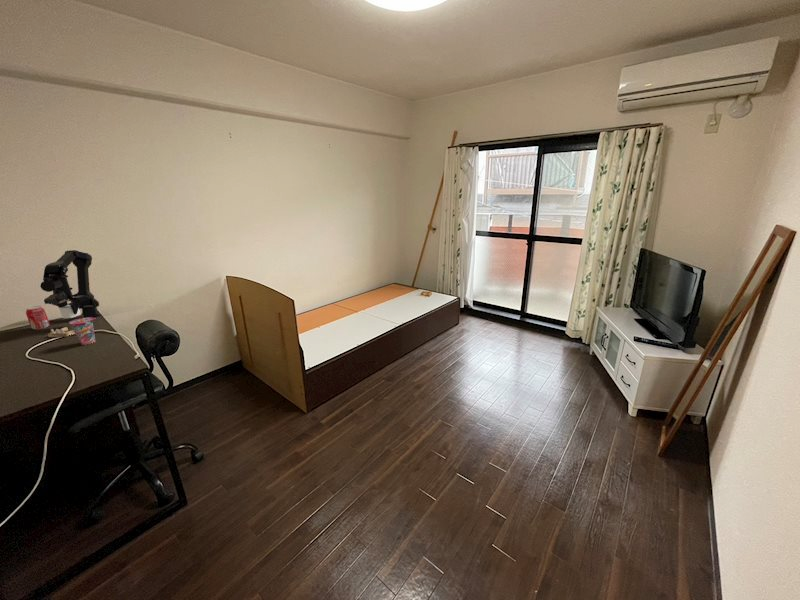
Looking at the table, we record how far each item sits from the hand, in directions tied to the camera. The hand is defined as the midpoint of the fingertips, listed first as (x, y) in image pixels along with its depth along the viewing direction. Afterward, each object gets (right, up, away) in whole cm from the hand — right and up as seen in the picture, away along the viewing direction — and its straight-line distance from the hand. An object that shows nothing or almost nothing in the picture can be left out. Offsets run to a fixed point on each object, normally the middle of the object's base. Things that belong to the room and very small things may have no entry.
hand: (71, 314), depth 179 cm
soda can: (-18, -8, +1) cm, 20 cm away
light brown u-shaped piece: (+5, -10, -7) cm, 13 cm away
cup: (+30, -13, -20) cm, 38 cm away
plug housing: (0, -1, 0) cm, 1 cm away
